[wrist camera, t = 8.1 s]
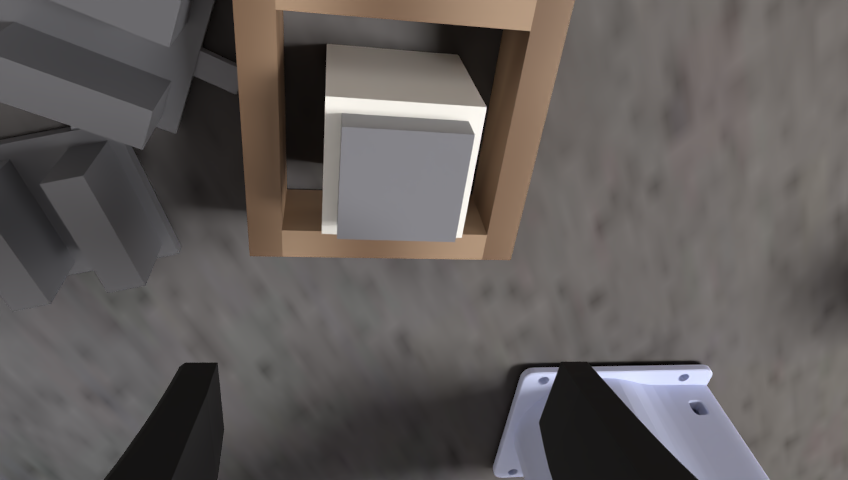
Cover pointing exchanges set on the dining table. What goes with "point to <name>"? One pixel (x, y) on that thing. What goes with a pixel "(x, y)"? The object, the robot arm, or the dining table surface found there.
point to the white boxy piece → (398, 144)
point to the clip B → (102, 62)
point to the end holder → (501, 146)
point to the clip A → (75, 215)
